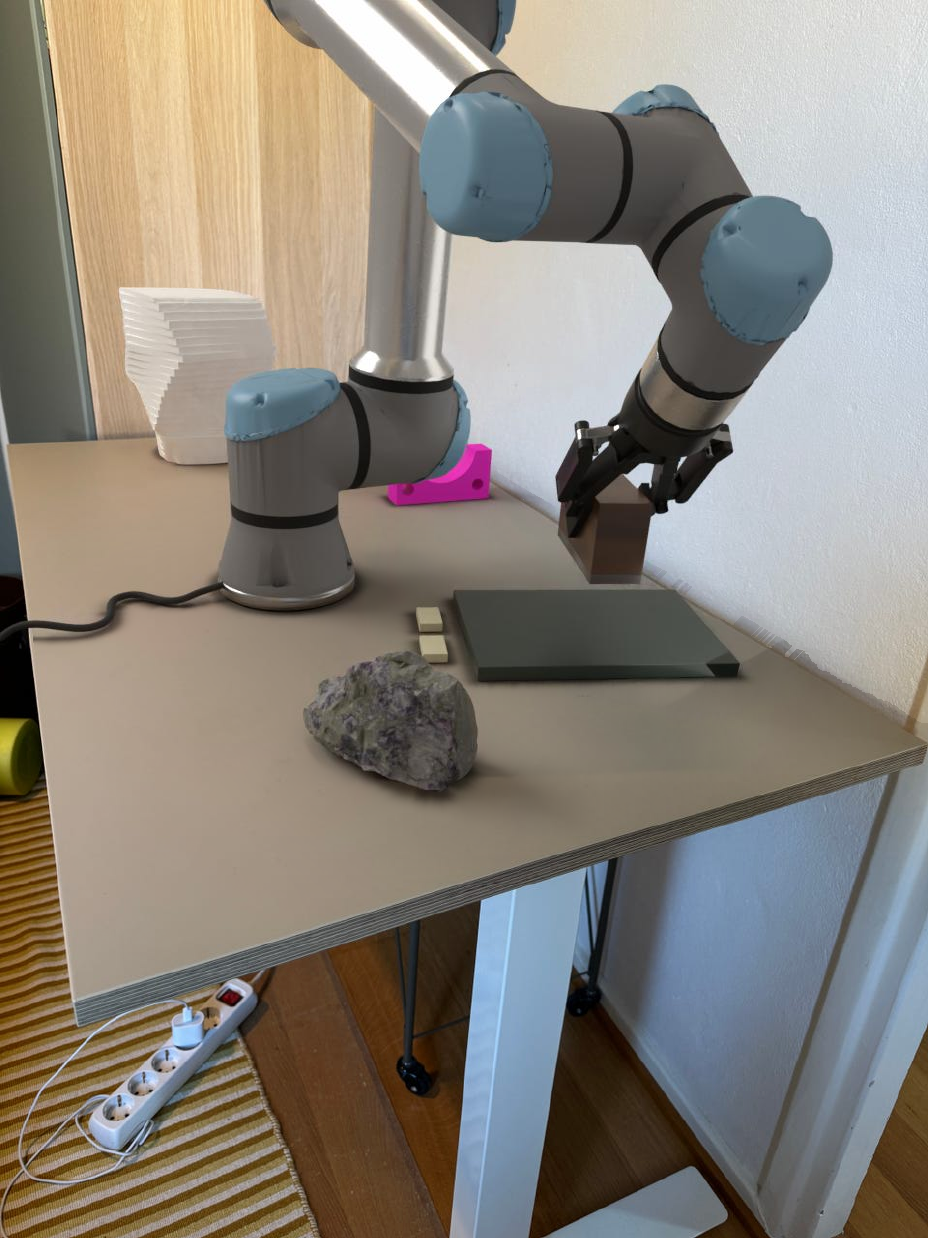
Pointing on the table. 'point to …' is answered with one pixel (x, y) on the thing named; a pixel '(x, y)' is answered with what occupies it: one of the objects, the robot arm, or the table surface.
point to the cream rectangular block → (429, 619)
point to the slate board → (587, 635)
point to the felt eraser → (611, 535)
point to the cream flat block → (433, 648)
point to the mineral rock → (398, 720)
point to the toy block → (450, 481)
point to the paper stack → (192, 362)
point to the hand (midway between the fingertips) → (598, 525)
